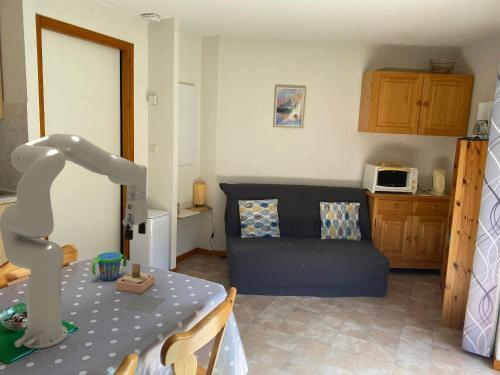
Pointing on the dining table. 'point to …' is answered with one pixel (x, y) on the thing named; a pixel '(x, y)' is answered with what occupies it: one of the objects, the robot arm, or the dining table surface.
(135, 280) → the lid
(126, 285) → the dish
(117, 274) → the snack cup
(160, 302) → the mat
